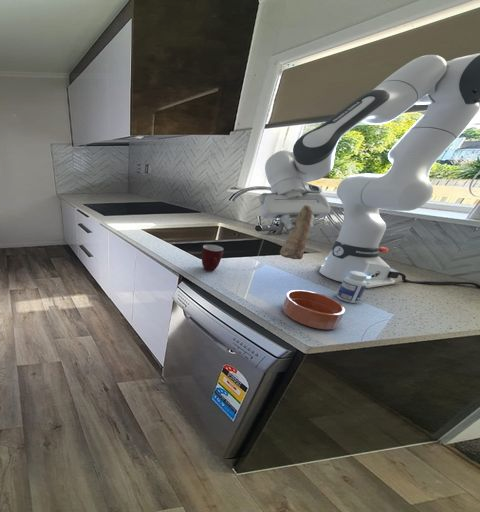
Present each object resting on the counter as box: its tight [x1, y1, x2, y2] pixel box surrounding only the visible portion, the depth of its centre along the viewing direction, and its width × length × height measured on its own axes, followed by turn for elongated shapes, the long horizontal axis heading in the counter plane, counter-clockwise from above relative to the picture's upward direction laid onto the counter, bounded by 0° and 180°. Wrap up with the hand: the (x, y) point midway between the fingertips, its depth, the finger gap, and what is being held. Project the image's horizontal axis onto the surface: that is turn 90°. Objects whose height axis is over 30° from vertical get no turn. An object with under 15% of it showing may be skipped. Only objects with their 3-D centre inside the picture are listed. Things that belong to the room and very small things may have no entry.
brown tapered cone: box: [279, 205, 312, 260], centre depth 79 cm, size 6×18×6 cm
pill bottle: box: [336, 271, 367, 304], centre depth 81 cm, size 5×5×10 cm
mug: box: [201, 244, 225, 272], centre depth 102 cm, size 10×8×10 cm
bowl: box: [281, 289, 346, 330], centre depth 73 cm, size 13×13×6 cm
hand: (300, 228), depth 78 cm, fingers closed on brown tapered cone, 4 cm apart
